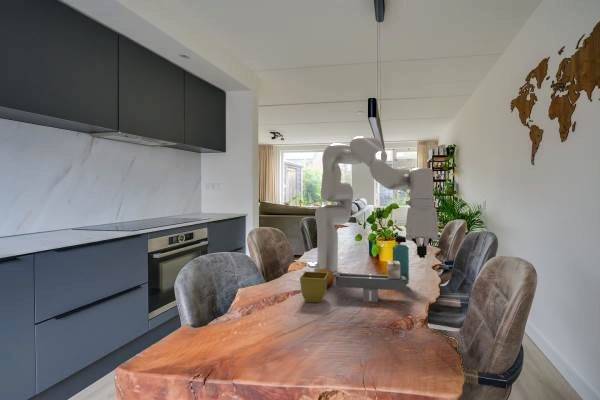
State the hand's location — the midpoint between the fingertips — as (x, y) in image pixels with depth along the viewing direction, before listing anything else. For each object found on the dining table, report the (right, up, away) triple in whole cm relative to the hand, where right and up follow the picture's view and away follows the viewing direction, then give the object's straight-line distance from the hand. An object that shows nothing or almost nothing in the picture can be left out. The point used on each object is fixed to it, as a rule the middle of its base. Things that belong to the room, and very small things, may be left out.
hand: (421, 257), depth 119 cm
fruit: (-33, -15, +18) cm, 40 cm away
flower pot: (-37, -15, +1) cm, 40 cm away
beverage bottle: (-2, -15, +18) cm, 24 cm away
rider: (-9, -9, +2) cm, 13 cm away
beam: (-17, -15, +4) cm, 23 cm away
